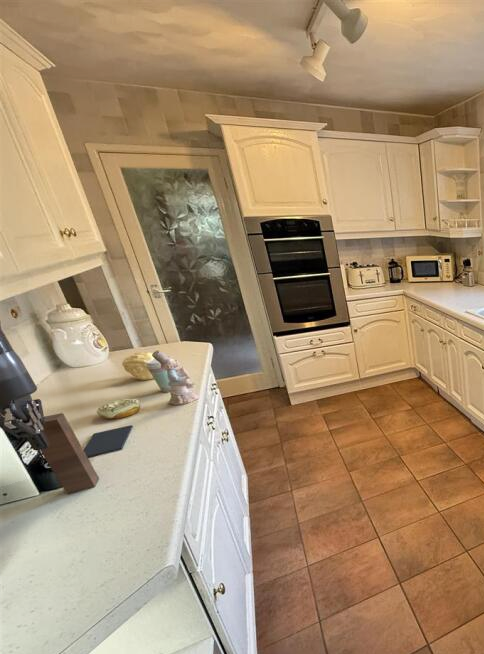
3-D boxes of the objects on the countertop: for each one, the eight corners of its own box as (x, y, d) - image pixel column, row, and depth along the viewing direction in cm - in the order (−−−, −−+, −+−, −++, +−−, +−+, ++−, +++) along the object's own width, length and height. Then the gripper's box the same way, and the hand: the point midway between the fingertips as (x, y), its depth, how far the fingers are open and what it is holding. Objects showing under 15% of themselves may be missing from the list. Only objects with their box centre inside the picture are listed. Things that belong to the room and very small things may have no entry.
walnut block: (95, 486, 97) (57, 419, 89) (66, 494, 94) (25, 425, 87) (99, 478, 100) (62, 412, 92) (72, 485, 97) (32, 418, 90)
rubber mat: (122, 449, 112) (121, 447, 112) (78, 459, 108) (77, 458, 108) (133, 426, 125) (132, 424, 124) (94, 435, 120) (93, 433, 120)
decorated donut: (110, 423, 127) (105, 413, 125) (94, 417, 131) (88, 407, 129) (148, 409, 135) (144, 399, 134) (131, 404, 139) (127, 394, 138)
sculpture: (124, 383, 158) (112, 357, 154) (149, 371, 169) (139, 348, 164) (152, 382, 158) (142, 357, 153) (176, 371, 169) (166, 347, 164)
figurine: (170, 408, 136) (147, 354, 127) (168, 401, 141) (146, 348, 133) (201, 400, 141) (181, 347, 133) (198, 393, 147) (179, 342, 139)
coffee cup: (176, 383, 156) (164, 355, 151) (190, 386, 153) (178, 357, 148) (151, 392, 149) (138, 362, 144) (166, 395, 146) (153, 365, 141)
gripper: (-14, 369, 82) (30, 440, 89) (-49, 390, 72) (3, 469, 79) (38, 361, 86) (75, 430, 93) (11, 381, 76) (56, 456, 83)
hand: (42, 448), depth 86 cm, fingers closed
